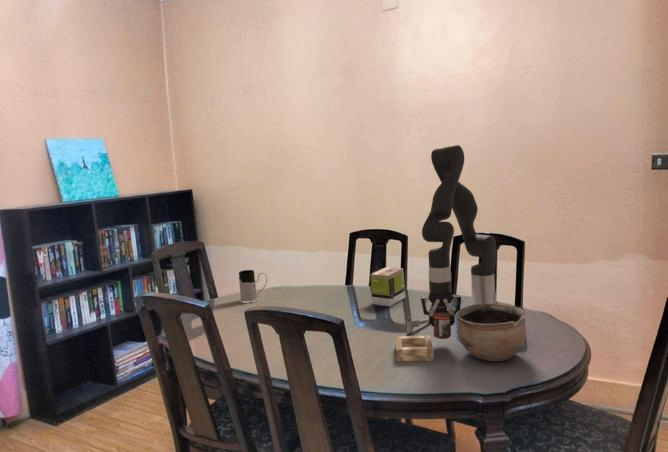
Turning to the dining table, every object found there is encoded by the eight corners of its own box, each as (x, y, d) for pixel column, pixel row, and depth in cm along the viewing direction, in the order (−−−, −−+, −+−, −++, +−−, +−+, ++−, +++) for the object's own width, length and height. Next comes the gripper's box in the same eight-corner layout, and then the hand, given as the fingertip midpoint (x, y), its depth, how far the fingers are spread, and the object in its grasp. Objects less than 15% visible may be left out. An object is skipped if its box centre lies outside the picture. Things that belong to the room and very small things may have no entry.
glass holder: (240, 299, 247) (238, 270, 245) (268, 296, 248) (266, 268, 246) (239, 304, 238) (236, 274, 236) (268, 301, 240) (266, 272, 237)
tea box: (387, 295, 237) (386, 266, 235) (405, 298, 231) (404, 267, 229) (371, 304, 225) (369, 273, 223) (390, 307, 219) (388, 275, 217)
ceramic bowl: (518, 375, 145) (517, 327, 143) (447, 363, 157) (446, 318, 155) (532, 349, 164) (531, 306, 162) (468, 339, 175) (467, 299, 173)
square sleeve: (430, 346, 171) (429, 335, 171) (433, 360, 159) (433, 348, 159) (395, 347, 172) (395, 336, 172) (396, 361, 161) (396, 349, 160)
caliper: (409, 335, 183) (408, 319, 183) (406, 335, 184) (406, 319, 183) (437, 320, 198) (437, 305, 197) (435, 320, 199) (435, 305, 198)
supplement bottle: (431, 334, 173) (430, 303, 171) (447, 332, 174) (446, 302, 172) (436, 340, 167) (435, 308, 165) (453, 338, 168) (452, 307, 166)
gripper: (459, 275, 170) (461, 320, 173) (418, 276, 172) (420, 322, 174) (463, 280, 163) (464, 328, 165) (419, 282, 164) (422, 329, 167)
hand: (441, 325), depth 170 cm, fingers closed on supplement bottle, 6 cm apart
